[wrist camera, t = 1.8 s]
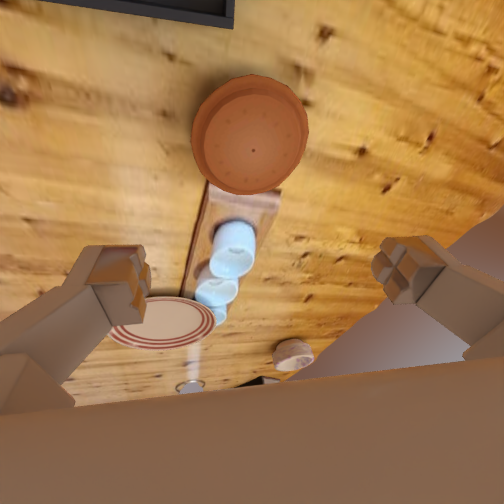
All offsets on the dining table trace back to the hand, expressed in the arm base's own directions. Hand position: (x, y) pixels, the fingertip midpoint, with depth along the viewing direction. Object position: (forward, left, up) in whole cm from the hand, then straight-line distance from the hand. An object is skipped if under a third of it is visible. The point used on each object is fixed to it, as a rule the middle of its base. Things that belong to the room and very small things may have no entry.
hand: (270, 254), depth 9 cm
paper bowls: (+87, +31, -30) cm, 97 cm away
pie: (+8, +5, -30) cm, 32 cm away
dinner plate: (+57, -12, -30) cm, 66 cm away
